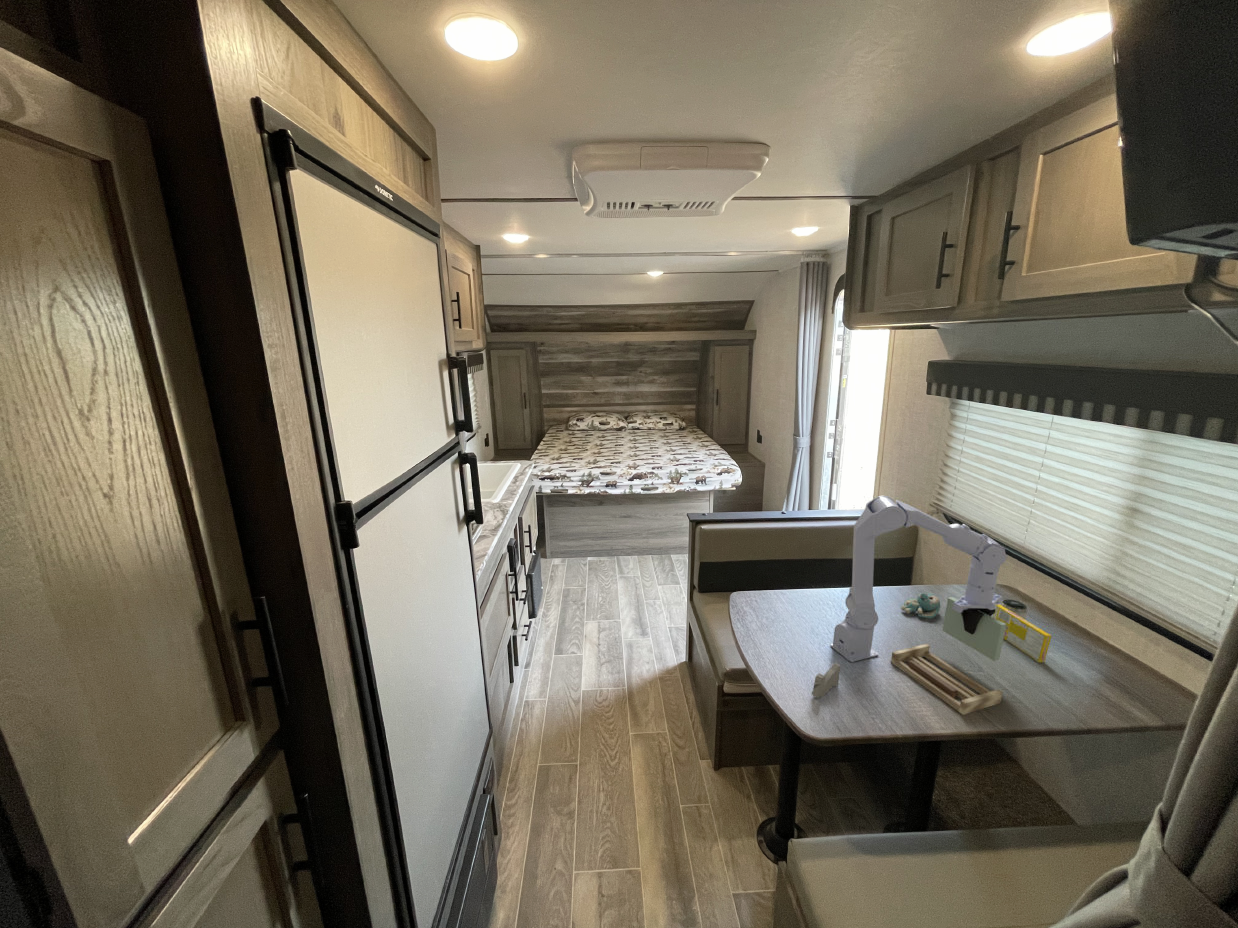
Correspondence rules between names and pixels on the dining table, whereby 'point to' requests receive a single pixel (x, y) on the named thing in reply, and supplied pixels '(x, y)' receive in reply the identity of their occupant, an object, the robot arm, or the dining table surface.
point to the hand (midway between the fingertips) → (972, 631)
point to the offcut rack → (946, 680)
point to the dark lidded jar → (1015, 607)
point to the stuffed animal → (922, 605)
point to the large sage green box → (976, 632)
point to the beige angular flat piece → (826, 681)
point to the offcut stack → (933, 679)
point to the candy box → (1023, 634)
